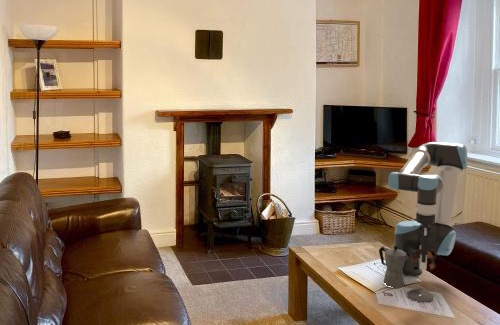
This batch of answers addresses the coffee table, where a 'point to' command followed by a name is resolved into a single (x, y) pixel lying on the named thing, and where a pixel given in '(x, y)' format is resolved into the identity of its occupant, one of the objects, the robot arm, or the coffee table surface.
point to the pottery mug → (430, 256)
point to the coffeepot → (393, 266)
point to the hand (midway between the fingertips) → (422, 264)
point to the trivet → (420, 295)
